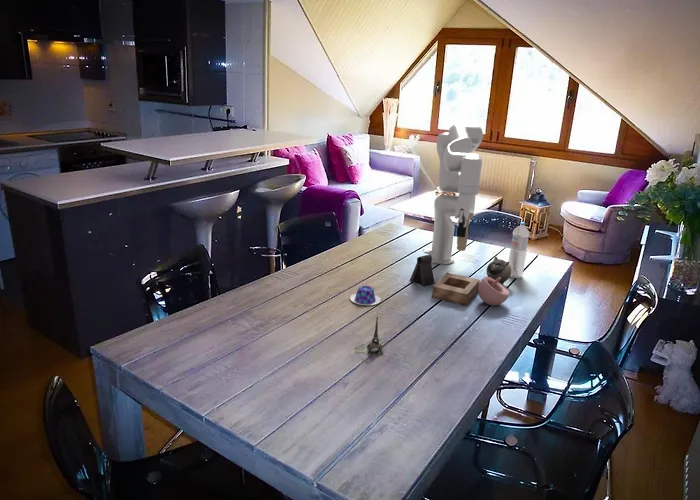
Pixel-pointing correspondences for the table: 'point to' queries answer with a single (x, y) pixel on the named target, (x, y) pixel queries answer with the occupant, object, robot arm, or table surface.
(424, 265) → the door stopper
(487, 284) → the mortar and pestle
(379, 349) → the eiffel tower figurine
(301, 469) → the table surface
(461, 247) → the handle
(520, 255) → the water bottle
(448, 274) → the socket block
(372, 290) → the pudding
